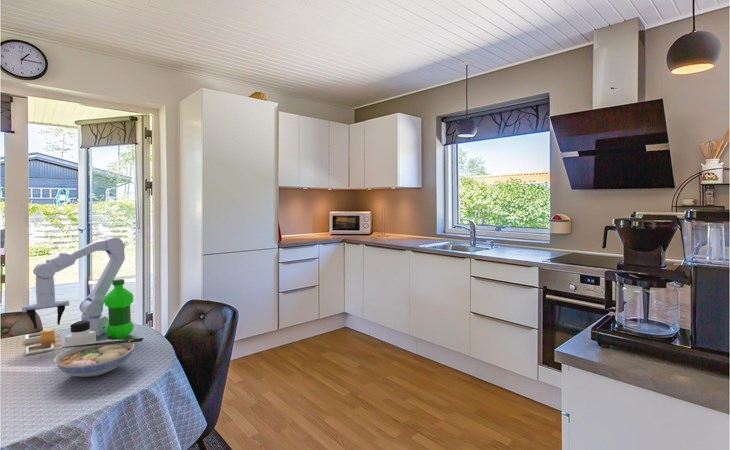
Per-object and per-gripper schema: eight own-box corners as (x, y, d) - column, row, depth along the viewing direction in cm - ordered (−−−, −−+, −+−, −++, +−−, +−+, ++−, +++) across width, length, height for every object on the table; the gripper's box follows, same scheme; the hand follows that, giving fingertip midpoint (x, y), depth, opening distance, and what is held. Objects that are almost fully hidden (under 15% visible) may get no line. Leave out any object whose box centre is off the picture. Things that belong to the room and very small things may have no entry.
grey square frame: (53, 350, 146) (53, 348, 146) (25, 355, 141) (25, 353, 140) (53, 343, 152) (53, 342, 152) (26, 349, 147) (26, 347, 147)
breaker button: (40, 340, 156) (40, 334, 156) (29, 342, 154) (29, 336, 153) (40, 337, 158) (40, 332, 158) (30, 339, 156) (29, 333, 156)
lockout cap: (58, 340, 155) (57, 329, 155) (48, 345, 151) (47, 332, 150) (48, 340, 156) (47, 328, 155) (38, 344, 151) (37, 332, 151)
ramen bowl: (34, 393, 116) (33, 367, 116) (70, 362, 138) (69, 340, 138) (126, 383, 123) (125, 358, 122) (146, 355, 145) (146, 334, 144)
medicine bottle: (97, 348, 151) (95, 319, 151) (82, 355, 144) (80, 324, 144) (80, 347, 152) (79, 318, 151) (64, 354, 145) (63, 324, 144)
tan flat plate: (62, 352, 147) (61, 348, 147) (23, 360, 140) (23, 356, 140) (60, 336, 165) (60, 332, 165) (26, 342, 158) (26, 338, 157)
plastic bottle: (102, 342, 158) (99, 283, 156) (112, 333, 168) (110, 278, 166) (129, 340, 160) (127, 282, 158) (137, 332, 170) (135, 277, 169)
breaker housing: (44, 340, 156) (44, 335, 155) (25, 344, 152) (25, 339, 152) (44, 336, 160) (44, 331, 160) (25, 339, 156) (25, 335, 156)
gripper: (68, 288, 160) (69, 319, 160) (21, 293, 150) (23, 327, 151) (68, 291, 154) (70, 324, 155) (20, 297, 145) (22, 332, 146)
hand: (47, 326), depth 153 cm, fingers open, 6 cm apart
